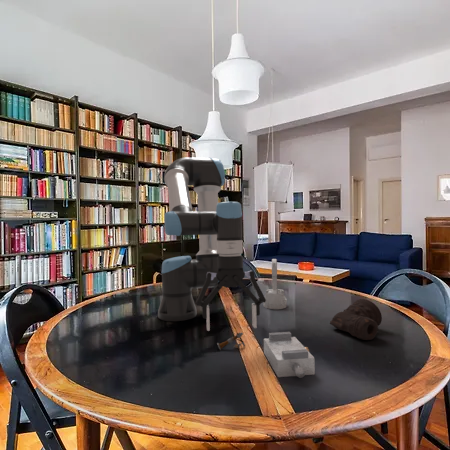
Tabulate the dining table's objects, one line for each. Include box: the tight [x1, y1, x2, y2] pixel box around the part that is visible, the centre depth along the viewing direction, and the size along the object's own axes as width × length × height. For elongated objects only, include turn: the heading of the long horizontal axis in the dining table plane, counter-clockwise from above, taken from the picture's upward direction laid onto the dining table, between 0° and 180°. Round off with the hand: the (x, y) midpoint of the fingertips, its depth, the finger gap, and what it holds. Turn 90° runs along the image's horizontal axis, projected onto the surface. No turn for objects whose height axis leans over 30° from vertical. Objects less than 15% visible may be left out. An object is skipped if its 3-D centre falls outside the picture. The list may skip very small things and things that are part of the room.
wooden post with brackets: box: [216, 332, 246, 351], centre depth 91 cm, size 2×8×4 cm, turn 98°
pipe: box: [329, 298, 383, 341], centre depth 103 cm, size 10×15×15 cm
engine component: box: [262, 258, 288, 310], centre depth 137 cm, size 11×20×10 cm
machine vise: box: [263, 331, 316, 379], centre depth 80 cm, size 10×17×6 cm, turn 6°
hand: (231, 328), depth 91 cm, fingers open, 13 cm apart
